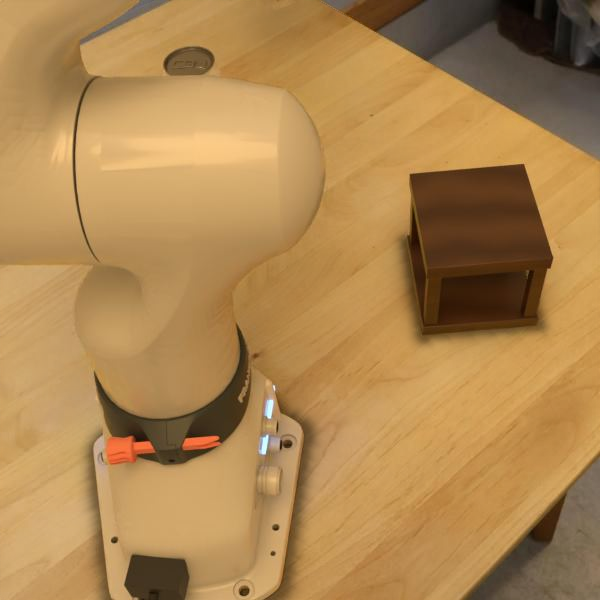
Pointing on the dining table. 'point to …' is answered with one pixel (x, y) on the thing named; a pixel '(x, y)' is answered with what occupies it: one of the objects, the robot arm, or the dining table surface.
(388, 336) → the dining table surface
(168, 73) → the can
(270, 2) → the beverage cup
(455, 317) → the shelf
